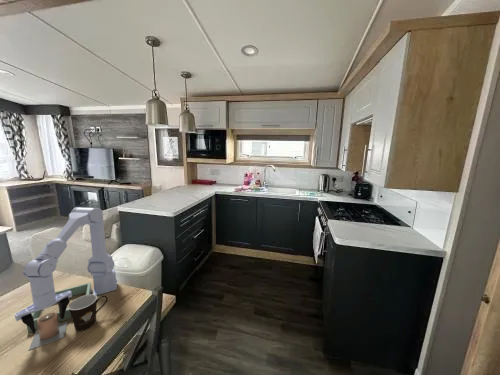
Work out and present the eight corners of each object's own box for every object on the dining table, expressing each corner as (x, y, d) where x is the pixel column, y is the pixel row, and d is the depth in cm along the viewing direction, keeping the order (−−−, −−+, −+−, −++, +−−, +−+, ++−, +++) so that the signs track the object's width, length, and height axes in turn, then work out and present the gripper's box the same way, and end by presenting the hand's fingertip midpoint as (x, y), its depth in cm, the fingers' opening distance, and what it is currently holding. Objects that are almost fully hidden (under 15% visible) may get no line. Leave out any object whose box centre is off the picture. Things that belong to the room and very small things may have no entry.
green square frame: (91, 289, 101) (90, 282, 101) (88, 312, 87) (87, 303, 86) (40, 303, 91) (39, 295, 90) (27, 332, 76) (26, 322, 76)
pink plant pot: (57, 326, 79) (54, 309, 78) (60, 332, 76) (58, 315, 75) (38, 335, 75) (35, 318, 74) (41, 342, 72) (38, 324, 71)
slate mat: (67, 321, 82) (67, 320, 82) (63, 337, 74) (63, 337, 74) (36, 331, 77) (36, 331, 77) (28, 350, 69) (28, 350, 69)
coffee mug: (68, 337, 75) (65, 313, 73) (75, 320, 82) (72, 298, 81) (106, 325, 80) (104, 302, 79) (109, 311, 88) (107, 290, 86)
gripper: (65, 277, 81) (69, 308, 83) (10, 298, 69) (16, 333, 71) (72, 283, 77) (76, 315, 79) (15, 306, 65) (21, 343, 67)
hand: (48, 324), depth 75 cm, fingers open, 7 cm apart
